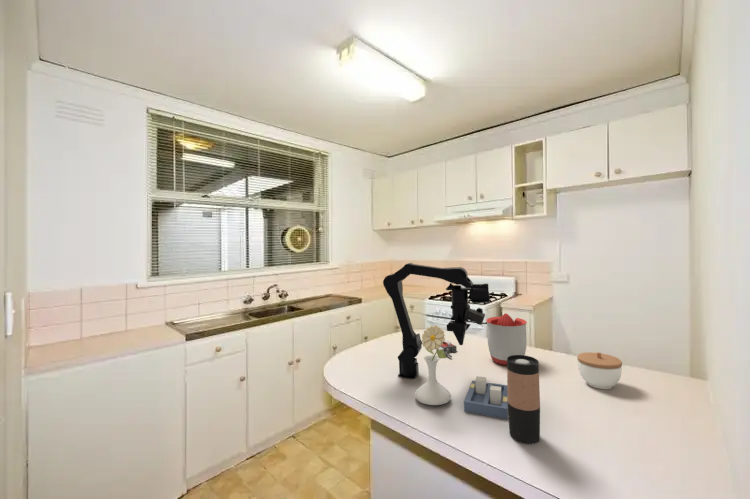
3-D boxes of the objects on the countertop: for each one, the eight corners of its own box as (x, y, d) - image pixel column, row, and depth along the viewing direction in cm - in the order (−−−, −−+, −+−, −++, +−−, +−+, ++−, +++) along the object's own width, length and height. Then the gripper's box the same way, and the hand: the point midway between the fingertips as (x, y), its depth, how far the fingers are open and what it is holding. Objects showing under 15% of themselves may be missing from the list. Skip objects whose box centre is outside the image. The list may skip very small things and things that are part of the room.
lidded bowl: (574, 386, 113) (573, 354, 113) (582, 374, 122) (581, 344, 122) (619, 397, 105) (618, 362, 104) (624, 383, 114) (624, 351, 114)
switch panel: (464, 411, 99) (463, 400, 99) (472, 389, 114) (472, 379, 114) (507, 419, 94) (507, 408, 94) (510, 394, 109) (509, 385, 109)
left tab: (475, 393, 107) (475, 379, 107) (477, 389, 110) (476, 376, 110) (485, 394, 106) (485, 381, 106) (486, 390, 109) (486, 377, 109)
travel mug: (503, 429, 89) (501, 355, 89) (530, 426, 90) (528, 353, 90) (517, 446, 82) (515, 366, 81) (547, 443, 82) (545, 364, 82)
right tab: (490, 403, 100) (489, 389, 100) (491, 399, 103) (490, 385, 103) (500, 405, 99) (500, 390, 99) (501, 400, 102) (501, 386, 101)
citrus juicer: (530, 356, 142) (529, 310, 141) (524, 371, 127) (523, 319, 127) (493, 351, 150) (491, 307, 150) (483, 364, 136) (481, 315, 135)
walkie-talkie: (427, 346, 161) (449, 360, 142) (427, 337, 161) (448, 350, 142) (443, 344, 164) (466, 357, 145) (443, 335, 164) (466, 347, 145)
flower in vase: (408, 396, 110) (406, 321, 109) (437, 389, 114) (435, 317, 114) (430, 415, 98) (427, 331, 97) (461, 406, 102) (459, 325, 102)
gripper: (479, 308, 109) (480, 355, 109) (486, 298, 125) (487, 339, 126) (445, 306, 113) (447, 352, 114) (456, 297, 130) (457, 337, 131)
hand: (461, 344), depth 121 cm, fingers closed
